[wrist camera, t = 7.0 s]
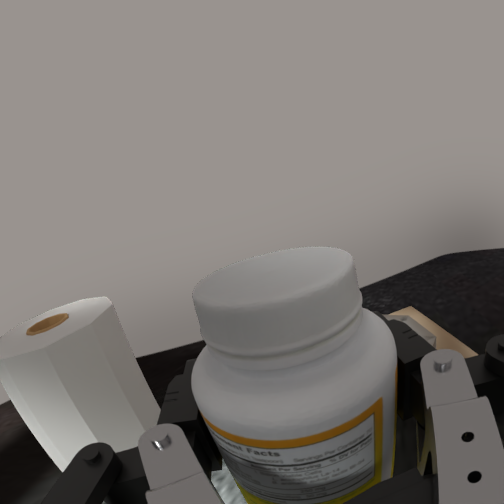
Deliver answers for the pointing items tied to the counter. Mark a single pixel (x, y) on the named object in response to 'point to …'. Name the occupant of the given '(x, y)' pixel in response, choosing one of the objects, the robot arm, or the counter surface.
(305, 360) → the supplement bottle
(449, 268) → the counter surface
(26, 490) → the counter surface
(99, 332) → the toilet paper
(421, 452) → the robot arm
